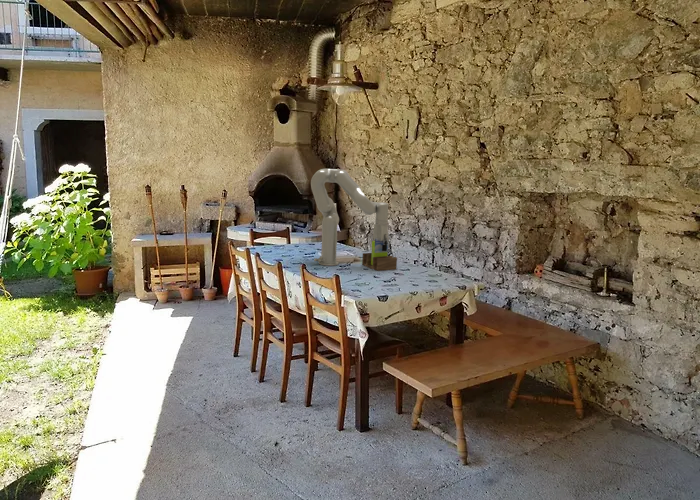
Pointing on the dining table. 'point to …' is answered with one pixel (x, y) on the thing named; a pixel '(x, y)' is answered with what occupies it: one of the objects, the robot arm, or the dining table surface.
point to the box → (377, 250)
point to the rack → (379, 262)
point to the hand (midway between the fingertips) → (380, 249)
